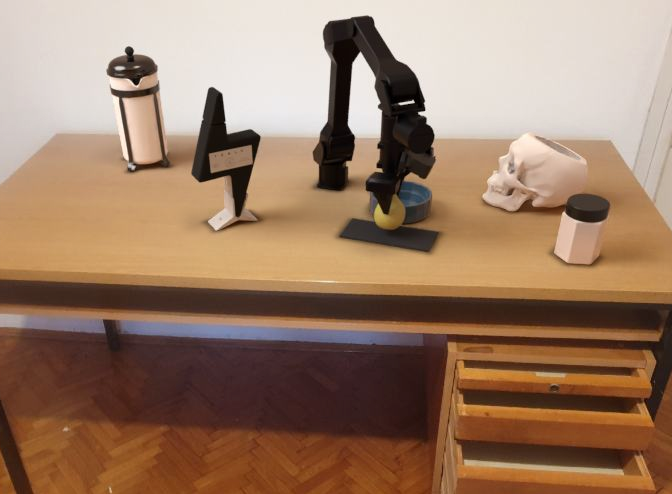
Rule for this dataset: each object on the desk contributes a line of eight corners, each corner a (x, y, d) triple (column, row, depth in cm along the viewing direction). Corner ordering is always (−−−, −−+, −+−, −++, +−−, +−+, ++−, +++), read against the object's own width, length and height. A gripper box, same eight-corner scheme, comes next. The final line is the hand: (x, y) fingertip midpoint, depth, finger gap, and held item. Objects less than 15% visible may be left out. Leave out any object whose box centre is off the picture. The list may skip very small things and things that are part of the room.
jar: (565, 241, 151) (577, 189, 143) (603, 252, 146) (617, 199, 139) (548, 257, 145) (559, 204, 138) (586, 269, 141) (600, 215, 134)
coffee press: (188, 156, 194) (174, 42, 176) (148, 177, 183) (129, 57, 165) (141, 145, 202) (123, 34, 184) (101, 164, 191) (78, 48, 173)
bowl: (361, 219, 161) (362, 201, 158) (379, 194, 172) (380, 177, 169) (421, 228, 157) (423, 210, 154) (436, 202, 167) (438, 185, 164)
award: (205, 233, 157) (189, 98, 139) (196, 224, 161) (180, 91, 143) (266, 218, 163) (258, 86, 145) (256, 209, 166) (248, 79, 149)
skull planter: (473, 180, 172) (522, 113, 161) (541, 219, 175) (593, 156, 163) (474, 205, 161) (527, 135, 150) (546, 245, 164) (603, 180, 153)
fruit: (403, 221, 156) (407, 170, 149) (404, 237, 150) (408, 185, 143) (373, 220, 157) (376, 169, 150) (373, 236, 151) (375, 184, 144)
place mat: (339, 237, 154) (339, 235, 154) (352, 219, 161) (352, 218, 161) (428, 252, 148) (428, 250, 148) (438, 233, 155) (438, 231, 155)
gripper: (422, 158, 132) (416, 232, 141) (444, 125, 146) (437, 195, 155) (366, 151, 135) (363, 224, 145) (392, 119, 149) (388, 188, 159)
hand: (390, 207), depth 151 cm, fingers closed on fruit, 6 cm apart
